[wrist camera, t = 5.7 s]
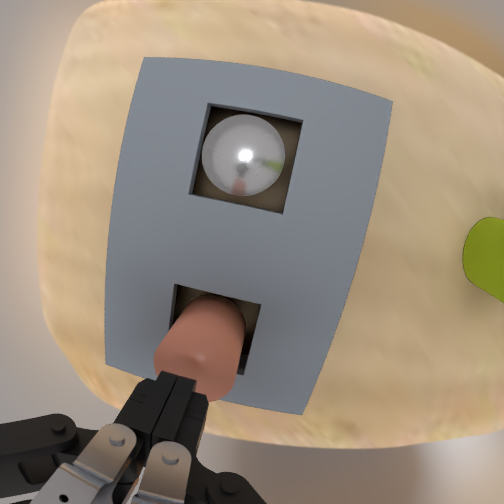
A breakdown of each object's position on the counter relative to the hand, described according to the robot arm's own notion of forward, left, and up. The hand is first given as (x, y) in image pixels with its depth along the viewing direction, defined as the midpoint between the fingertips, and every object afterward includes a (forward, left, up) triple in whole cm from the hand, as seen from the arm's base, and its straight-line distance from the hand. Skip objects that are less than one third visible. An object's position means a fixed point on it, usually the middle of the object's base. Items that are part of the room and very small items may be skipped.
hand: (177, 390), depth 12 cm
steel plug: (0, -10, -10) cm, 14 cm away
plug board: (0, -5, -11) cm, 12 cm away
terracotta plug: (0, 0, -7) cm, 7 cm away
